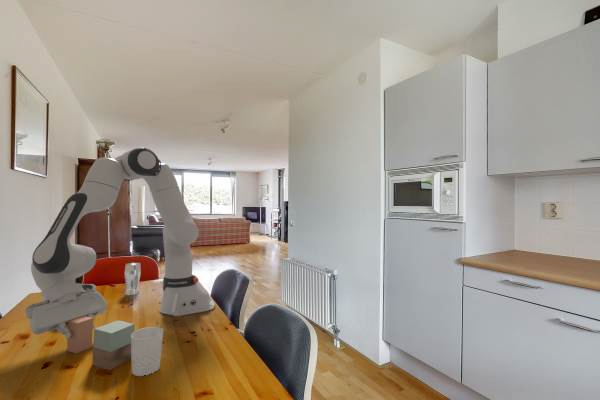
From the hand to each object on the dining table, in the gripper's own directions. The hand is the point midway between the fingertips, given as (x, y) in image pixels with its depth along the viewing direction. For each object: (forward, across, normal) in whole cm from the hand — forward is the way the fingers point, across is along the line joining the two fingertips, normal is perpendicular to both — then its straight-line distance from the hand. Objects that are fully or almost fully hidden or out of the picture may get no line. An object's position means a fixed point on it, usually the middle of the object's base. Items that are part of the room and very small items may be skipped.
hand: (81, 333), depth 91 cm
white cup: (+23, 0, -16) cm, 28 cm away
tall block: (+3, 0, +4) cm, 5 cm away
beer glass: (-23, +47, +30) cm, 60 cm away
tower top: (+11, -1, -11) cm, 16 cm away
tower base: (+15, -1, -7) cm, 16 cm away
